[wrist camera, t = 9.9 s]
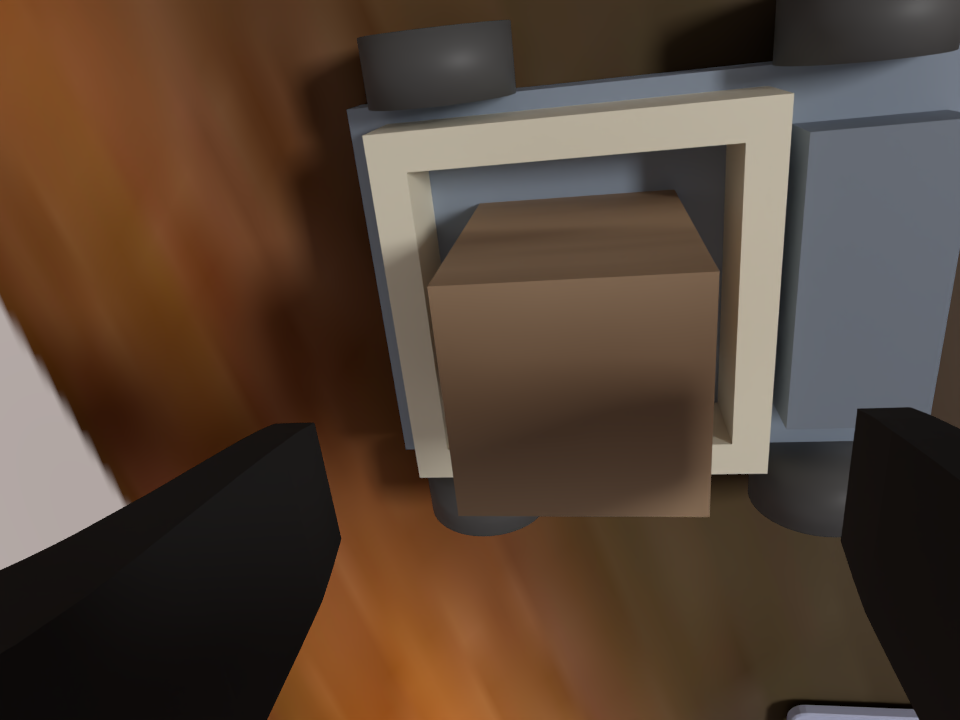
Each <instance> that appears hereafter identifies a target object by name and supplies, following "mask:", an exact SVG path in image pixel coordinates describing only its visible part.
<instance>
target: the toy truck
mask: <svg viewBox="0 0 960 720" xmlns="http://www.w3.org/2000/svg"><path fill="white" fill-rule="evenodd" d="M357 43H358V49H359V55H360V61H361V67H362V73H363V80H364V86H365V92H366V98H367V104H363V105H359V106H356V107H353V108H350V109H347V115H348V121H349V126H350V132H351V138H352V143H353V149H354V155H355V161H356V166H357V172H358V178H359V184H360V189H361V195H362V201H363V207H364V212H365V218H366V224H367V229H368V235H369V241H370V247H371V252H372V258H373V264H374V270H375V275H376V281H377V287H378V292H379V298H380V304H381V310H382V315H383V321H384V327H385V333H386V338H387V344H388V350H389V356H390V361H391V367H392V373H393V378H394V384H395V390H396V396H397V401H398V407H399V413H400V419H401V424H402V430H403V436H404V441H405V447H406V449H415V452H416V458H417V464H418V470H419V476H420V478H428V479H429V486H430V492H431V498H432V504H433V510H434V513H435V516H436V517H437V519H438V520H439V521H440V522H441V523H442V524H443V525H444V526H446V527H447V528H449V529H451V530H453V531H456V532H458V533H462V534H466V535H472V536H494V535H501V534H506V533H510V532H513V531H516V530H518V529H521V528H523V527H525V526H527V525H529V524H530V523H532V522H533V521H535V520H536V519H537V518H538V517H539V516H458V508H457V501H456V494H455V486H454V479H453V472H452V464H451V457H450V450H449V442H448V435H447V428H446V420H445V413H444V406H443V399H442V391H441V384H440V377H439V369H438V362H437V355H436V347H435V340H434V333H433V325H432V318H431V311H430V303H429V296H428V289H427V286H428V285H429V283H430V281H431V280H432V278H433V277H434V275H435V274H436V272H437V270H438V269H439V267H440V266H441V264H442V262H443V261H444V259H445V258H446V256H447V255H448V253H449V251H450V250H451V248H452V247H453V245H454V244H455V242H456V240H457V239H458V237H459V236H460V234H461V232H462V231H463V229H464V228H465V226H466V225H467V223H468V221H469V220H470V218H471V217H472V215H473V213H474V212H475V210H476V209H477V207H478V206H479V204H480V203H492V202H506V201H520V200H534V199H548V198H562V197H576V196H590V195H604V194H618V193H632V192H646V191H660V190H675V192H676V193H677V195H678V197H679V199H680V201H681V203H682V204H683V206H684V208H685V210H686V212H687V213H688V215H689V217H690V219H691V221H692V222H693V224H694V226H695V228H696V230H697V232H698V233H699V235H700V237H701V239H702V241H703V242H704V244H705V246H706V248H707V250H708V251H709V253H710V255H711V257H712V259H713V260H714V262H715V264H716V266H717V268H718V270H719V271H720V274H719V298H718V322H717V346H716V371H715V395H714V419H713V444H712V468H711V474H749V481H748V494H749V498H750V500H751V502H752V504H753V505H754V507H755V508H756V509H757V510H758V511H759V512H760V513H761V514H763V515H764V516H765V517H767V518H768V519H770V520H771V521H773V522H775V523H777V524H779V525H781V526H783V527H785V528H788V529H791V530H794V531H797V532H801V533H804V534H809V535H814V536H823V537H841V534H842V526H843V519H844V511H845V503H846V495H847V487H848V479H849V471H850V463H851V455H852V447H853V439H854V432H855V424H856V416H857V409H859V408H897V407H912V408H914V409H917V410H919V411H922V412H924V413H927V414H929V415H931V409H932V403H933V398H934V392H935V386H936V380H937V375H938V369H939V363H940V358H941V352H942V346H943V341H944V335H945V329H946V323H947V318H948V312H949V306H950V301H951V295H952V289H953V283H954V278H955V272H956V266H957V261H958V255H959V249H960V0H776V15H775V32H774V49H773V61H769V62H759V63H750V64H741V65H731V66H722V67H712V68H703V69H693V70H684V71H674V72H665V73H656V74H646V75H637V76H627V77H618V78H608V79H599V80H590V81H580V82H571V83H561V84H552V85H542V86H533V87H523V88H516V84H515V72H514V60H513V47H512V35H511V22H510V20H499V21H486V22H476V23H466V24H457V25H448V26H439V27H430V28H422V29H414V30H406V31H398V32H391V33H383V34H376V35H370V36H364V37H359V38H357Z"/></svg>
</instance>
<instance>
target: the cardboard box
mask: <svg viewBox="0 0 960 720" xmlns="http://www.w3.org/2000/svg"><path fill="white" fill-rule="evenodd" d="M719 274H720V271H719V270H718V268H717V266H716V264H715V262H714V260H713V259H712V257H711V255H710V253H709V251H708V250H707V248H706V246H705V244H704V242H703V241H702V239H701V237H700V235H699V233H698V232H697V230H696V228H695V226H694V224H693V222H692V221H691V219H690V217H689V215H688V213H687V212H686V210H685V208H684V206H683V204H682V203H681V201H680V199H679V197H678V195H677V193H676V192H675V190H660V191H646V192H632V193H618V194H604V195H590V196H576V197H562V198H548V199H534V200H520V201H506V202H492V203H480V204H479V206H478V207H477V209H476V210H475V212H474V213H473V215H472V217H471V218H470V220H469V221H468V223H467V225H466V226H465V228H464V229H463V231H462V232H461V234H460V236H459V237H458V239H457V240H456V242H455V244H454V245H453V247H452V248H451V250H450V251H449V253H448V255H447V256H446V258H445V259H444V261H443V262H442V264H441V266H440V267H439V269H438V270H437V272H436V274H435V275H434V277H433V278H432V280H431V281H430V283H429V285H428V286H427V289H428V296H429V303H430V311H431V318H432V325H433V333H434V340H435V347H436V355H437V362H438V369H439V377H440V384H441V391H442V399H443V406H444V413H445V420H446V428H447V435H448V442H449V450H450V457H451V464H452V472H453V479H454V486H455V494H456V501H457V508H458V516H584V517H710V492H711V468H712V444H713V419H714V395H715V371H716V346H717V322H718V298H719Z"/></svg>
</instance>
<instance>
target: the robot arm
mask: <svg viewBox="0 0 960 720" xmlns="http://www.w3.org/2000/svg"><path fill="white" fill-rule="evenodd" d="M340 541H341V535H340V531H339V527H338V522H337V518H336V514H335V509H334V505H333V501H332V496H331V492H330V488H329V484H328V479H327V475H326V471H325V466H324V462H323V458H322V453H321V449H320V445H319V440H318V436H317V432H316V427H315V423H283V424H273V425H271V426H268V427H266V428H264V429H261V430H259V431H257V432H255V433H253V434H251V435H249V436H248V437H246V438H244V439H242V440H240V441H238V442H237V443H235V444H233V445H231V446H229V447H228V448H226V449H224V450H222V451H221V452H219V453H217V454H216V455H214V456H212V457H210V458H209V459H207V460H205V461H204V462H202V463H200V464H198V465H197V466H195V467H193V468H192V469H190V470H188V471H187V472H185V473H183V474H181V475H180V476H178V477H176V478H175V479H173V480H171V481H169V482H168V483H166V484H164V485H163V486H161V487H159V488H158V489H156V490H154V491H152V492H151V493H149V494H147V495H145V496H144V497H142V498H140V499H138V500H136V501H134V502H133V503H131V504H129V505H127V506H125V507H123V508H122V509H120V510H118V511H116V512H115V513H113V514H111V515H109V516H107V517H105V518H104V519H102V520H100V521H98V522H96V523H94V524H92V525H91V526H89V527H87V528H85V529H83V530H81V531H80V532H78V533H76V534H74V535H72V536H70V537H68V538H67V539H64V540H63V541H61V542H58V543H57V544H55V545H53V546H51V547H49V548H47V549H44V550H42V551H40V552H38V553H36V554H34V555H32V556H30V557H28V558H26V559H24V560H22V561H19V562H18V563H15V564H13V565H11V566H9V567H6V568H4V569H2V570H0V720H267V718H268V716H269V714H270V712H271V710H272V708H273V706H274V704H275V702H276V699H277V697H278V695H279V693H280V691H281V689H282V687H283V685H284V683H285V680H286V678H287V676H288V674H289V672H290V670H291V668H292V666H293V664H294V661H295V659H296V657H297V655H298V653H299V651H300V649H301V647H302V644H303V642H304V640H305V638H306V636H307V634H308V631H309V629H310V627H311V625H312V623H313V621H314V618H315V616H316V614H317V612H318V609H319V607H320V605H321V603H322V600H323V597H324V594H325V591H326V588H327V585H328V582H329V579H330V576H331V573H332V569H333V566H334V562H335V559H336V555H337V552H338V548H339V545H340ZM841 543H842V546H843V549H844V552H845V555H846V558H847V561H848V564H849V567H850V570H851V574H852V577H853V580H854V582H855V585H856V588H857V591H858V594H859V596H860V599H861V602H862V605H863V607H864V610H865V613H866V615H867V617H868V619H869V621H870V623H871V625H872V627H873V629H874V631H875V633H876V635H877V637H878V639H879V641H880V643H881V645H882V647H883V649H884V651H885V653H886V655H887V657H888V659H889V661H890V663H891V665H892V667H893V669H894V671H895V673H896V675H897V677H898V679H899V681H900V683H901V685H902V687H903V689H904V691H905V693H906V695H907V697H908V699H909V701H910V703H911V705H912V707H913V709H898V708H874V707H849V706H824V705H798V706H795V707H793V708H792V709H791V710H789V712H788V714H787V720H960V429H959V428H957V427H955V426H953V425H951V424H948V423H946V422H944V421H942V420H940V419H938V418H936V417H934V416H931V415H929V414H927V413H924V412H922V411H919V410H917V409H914V408H912V407H897V408H859V409H857V416H856V424H855V432H854V439H853V447H852V455H851V463H850V471H849V479H848V487H847V495H846V503H845V511H844V519H843V526H842V534H841Z"/></svg>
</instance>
